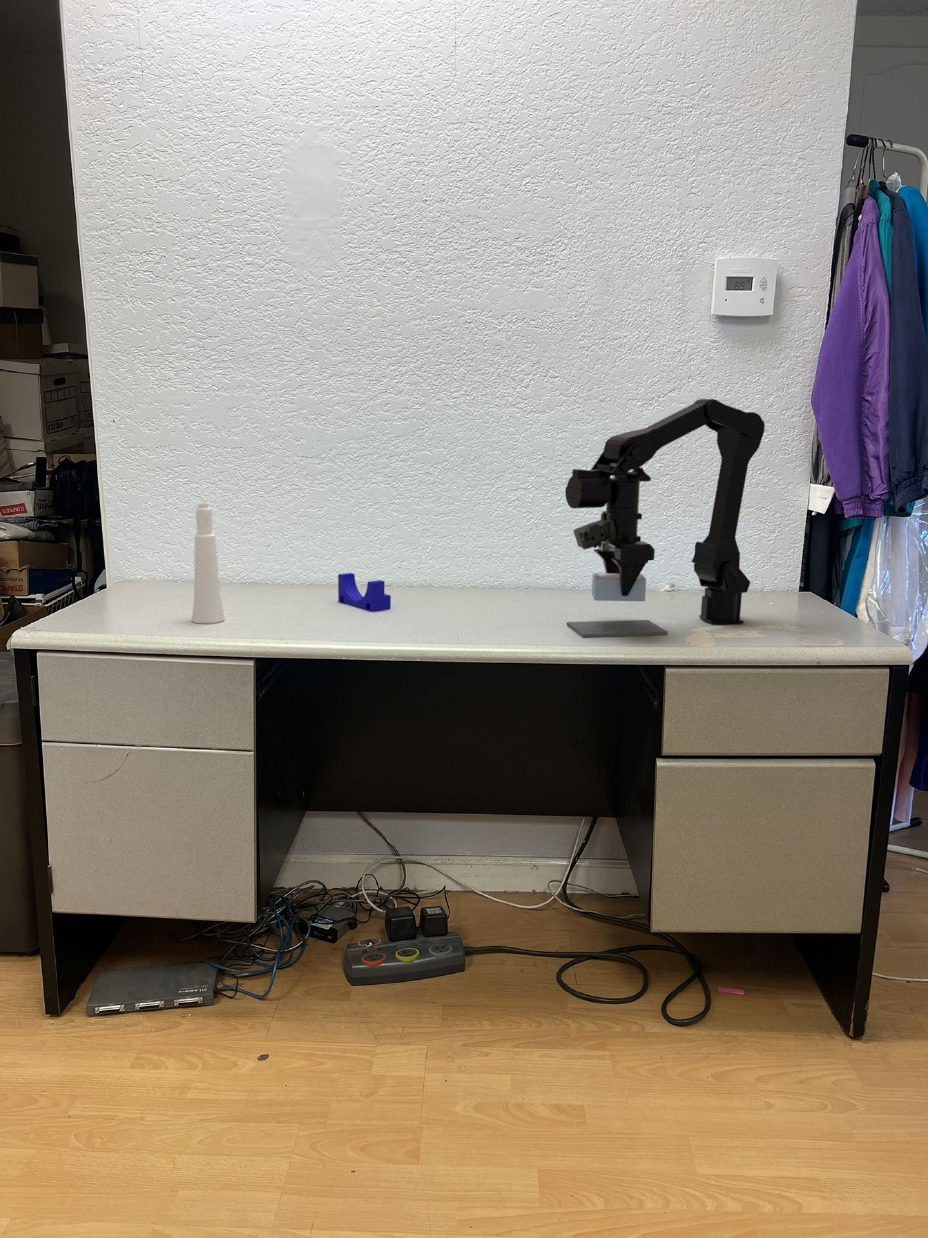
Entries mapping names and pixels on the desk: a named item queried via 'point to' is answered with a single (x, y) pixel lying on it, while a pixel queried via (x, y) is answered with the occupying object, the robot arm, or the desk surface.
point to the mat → (616, 628)
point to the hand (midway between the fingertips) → (618, 592)
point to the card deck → (616, 588)
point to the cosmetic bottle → (206, 571)
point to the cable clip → (352, 596)
